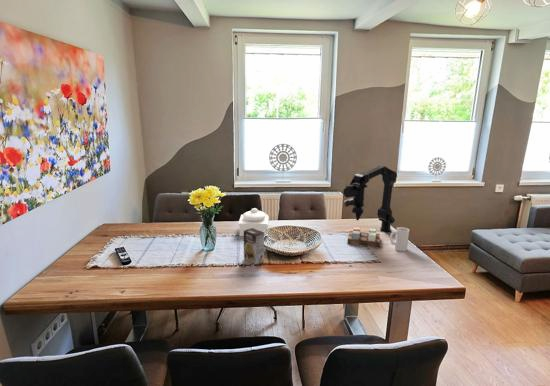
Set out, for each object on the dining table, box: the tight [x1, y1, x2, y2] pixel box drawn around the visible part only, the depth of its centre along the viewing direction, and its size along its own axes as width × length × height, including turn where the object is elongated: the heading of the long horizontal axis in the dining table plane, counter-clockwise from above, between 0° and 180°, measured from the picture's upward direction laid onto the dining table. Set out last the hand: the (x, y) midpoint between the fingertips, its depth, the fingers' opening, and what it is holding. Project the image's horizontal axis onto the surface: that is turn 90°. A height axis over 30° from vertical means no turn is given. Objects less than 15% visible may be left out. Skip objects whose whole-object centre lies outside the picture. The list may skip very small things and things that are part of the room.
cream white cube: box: [368, 232, 377, 242], centre depth 192 cm, size 4×4×4 cm
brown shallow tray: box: [346, 230, 381, 248], centre depth 197 cm, size 14×18×3 cm
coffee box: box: [243, 228, 265, 265], centre depth 171 cm, size 9×6×16 cm
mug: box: [389, 226, 410, 252], centre depth 185 cm, size 10×7×12 cm, turn 89°
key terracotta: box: [352, 226, 361, 232], centre depth 201 cm, size 4×4×4 cm
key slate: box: [352, 230, 361, 240], centre depth 194 cm, size 4×4×4 cm
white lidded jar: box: [238, 207, 270, 237], centre depth 211 cm, size 18×18×16 cm
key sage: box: [368, 228, 377, 235], centre depth 198 cm, size 4×4×4 cm
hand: (357, 220), depth 199 cm, fingers closed
